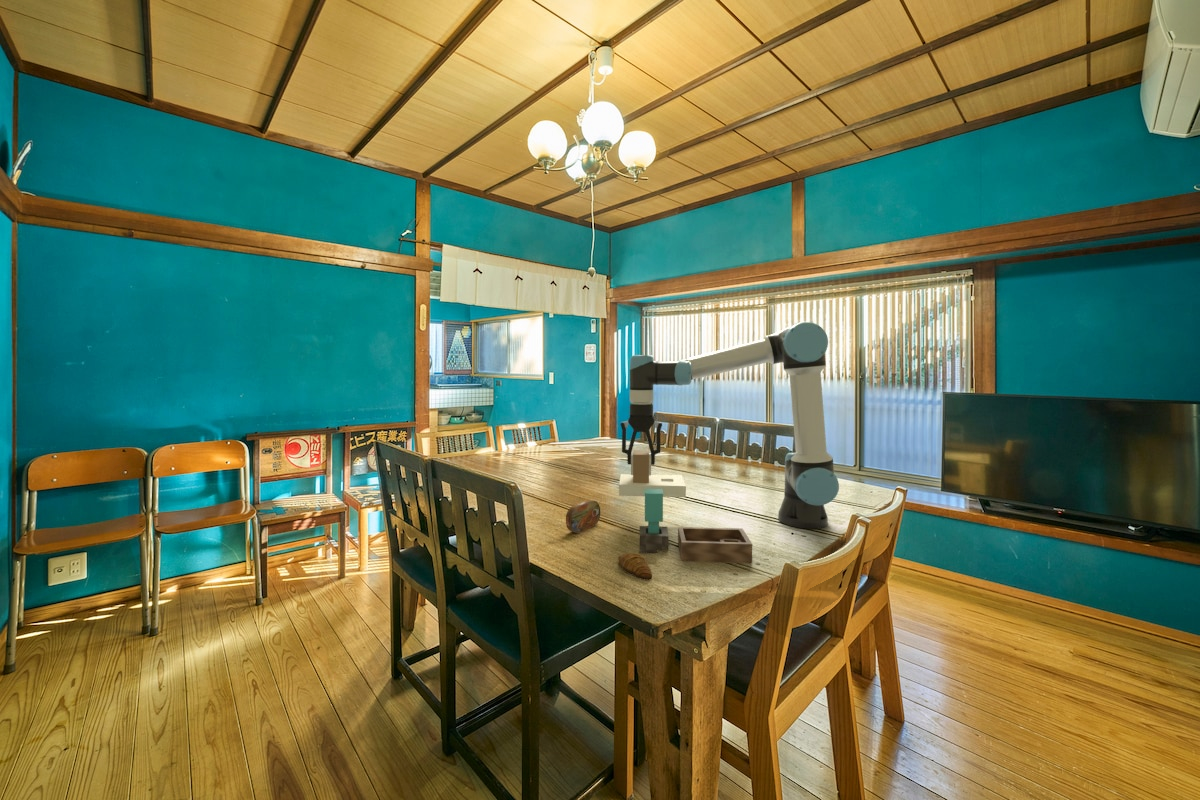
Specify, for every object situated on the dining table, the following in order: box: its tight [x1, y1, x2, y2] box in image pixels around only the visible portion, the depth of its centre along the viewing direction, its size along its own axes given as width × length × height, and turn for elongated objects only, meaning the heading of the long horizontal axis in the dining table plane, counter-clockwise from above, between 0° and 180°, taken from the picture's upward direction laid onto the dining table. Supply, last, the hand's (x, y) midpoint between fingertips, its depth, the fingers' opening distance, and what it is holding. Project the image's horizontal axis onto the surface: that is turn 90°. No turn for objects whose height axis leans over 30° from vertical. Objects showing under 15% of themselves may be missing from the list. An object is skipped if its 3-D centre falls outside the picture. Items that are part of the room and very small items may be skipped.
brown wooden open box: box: [677, 526, 753, 564], centre depth 130 cm, size 18×12×6 cm, turn 85°
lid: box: [618, 449, 687, 498], centre depth 155 cm, size 21×15×12 cm
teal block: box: [644, 489, 664, 534], centre depth 136 cm, size 5×5×16 cm
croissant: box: [617, 552, 653, 581], centre depth 121 cm, size 14×7×5 cm, turn 30°
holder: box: [638, 525, 670, 555], centre depth 136 cm, size 8×8×5 cm
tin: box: [565, 500, 601, 534], centre depth 153 cm, size 15×3×8 cm, turn 143°
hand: (640, 474), depth 155 cm, fingers closed on lid, 5 cm apart
